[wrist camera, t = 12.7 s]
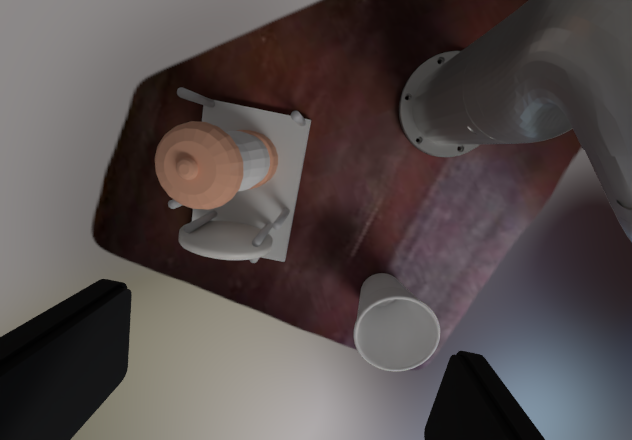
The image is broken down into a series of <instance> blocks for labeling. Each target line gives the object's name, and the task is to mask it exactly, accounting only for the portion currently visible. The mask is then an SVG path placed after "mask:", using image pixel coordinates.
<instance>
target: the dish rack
mask: <svg viewBox="0 0 632 440" xmlns="http://www.w3.org/2000/svg"><path fill="white" fill-rule="evenodd" d="M177 95H178V96H179V97H181V98H184V99H187V100H190V101H193V102H196V103H199V104H202V105H203V115H202V122H207V123H209V124H212V125H215V126H218V127H219V128H221V129H222V130H223V131H224V132H228V131H237V130H251V131H255V132H258V133H261V134H263V135H265V136H266V137H267V138H268V139H270V140H271V142H272V143H273V145H274V146H275V147H276V151H277V154H278V166H277V169H276V172H275V174H274V175H273V177H272V178H271V179H270V180H269V181H267V182H266V183H264V184H263V185H261V186H259V187H257V188H253V189H247V190H243V191H237V193H236V194H235V196H234V197H233V198H232V199H231V200H230V201H228V202H227V203H225V204H224V205H223V206H220V207H217V208H213V209H210V210H207V209H193V214H192V222H190V223H189V224H186V225H184V226H182V227H181V228H180V230H179V243H180V244H181V246H182V247H183V248H184V249H187V250H189V251H191V252H193V253H196V254H198V255H202V256H205V257H210V258H215V259H223V260H248V259H249V260H250V261H251V262H252V263H256V262H257V261H258V259H259V258H260V257H262V258H267V259H272V260H277V261H282V262H285V259H286V254H287V249H288V243H289V238H290V232H291V227H292V222H293V216H294V211H295V205H296V200H297V195H298V189H299V184H300V178H301V173H302V168H303V162H304V157H305V151H306V146H307V141H308V135H309V130H310V124H311V120H309V119H304V118H303V116H302V115H301V114H300V113H299V112H298V111H293V112H292V113H291V116H290V115H285V114H280V113H275V112H270V111H265V110H260V109H255V108H251V107H246V106H241V105H236V104H231V103H226V102H221V101H216V100H212V99H209V98H207V97H205V96H202V95H200V94H197V93H195V92H192V91H190V90H187V89H185V88H182V87H180V88H178V90H177ZM168 206H169V207H170V208H171V209H175V208H177V207H180V206H182V205H181V204H179V203H178V202H177V201H175V200H174V199H173V200H170V201H169V202H168Z"/></svg>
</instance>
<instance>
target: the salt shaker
mask: <svg viewBox="0 0 632 440" xmlns="http://www.w3.org/2000/svg"><path fill="white" fill-rule="evenodd" d="M277 166H278V154H277V151H276V147H275V146H274V145H273V143H272V142H271V140H270V139H268V138H267V137H266V136H265V135H263V134H261V133H258V132H255V131H251V130H237V131H228V132H224V131H223V130H222V129H221V128H219V127H218V126H215V125H212V124H209V123H207V122H196V121H190V122H187V123H184V124H181V125H178V126H176V127H174V128H173V129H172V130H170V131H169V132H168V133H166V134H165V135H164V137H163V138H162V140H161V141H160V143H159V145H158V147H157V151H156V155H155V168H156V174H157V177H158V179H159V182H160V184H161V186H162V187H163V189H164V190H165V191H166V192H167V194H168V195H169V196H170V197H171V198H173V199H174V200H175V201H177V202H178V203H179V204H181V205H184V206H187V207H190V208H192V209H207V210H210V209H213V208H217V207H220V206H223V205H224V204H225V203H227V202H228V201H230V200H231V199H232V198H233V197H234V196H235V194H236V193H237V191H243V190H247V189H253V188H257V187H259V186H261V185H263V184H264V183H266V182H267V181H269V180H270V179H271V178H272V177H273V175H274V174H275V172H276V169H277Z"/></svg>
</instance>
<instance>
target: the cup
mask: <svg viewBox="0 0 632 440" xmlns="http://www.w3.org/2000/svg"><path fill="white" fill-rule="evenodd" d="M439 339H440V326H439V322H438V319H437V317H436V315H435V314H434V312H433V311H432V310H431V309H430V308H429V307H428V306H427V305H426V304H425V303H423V302H422V301H420V300H418V299H417V298H416V297H415V296H414V295H413V294H412V293H411V292H410V291H409V290H408V289H407V288H406V287H405V286H404V285H403V284H402V283H401V282H399V281H398V280H397V279H396V278H395V277H394V276H392V275H390V274H386V273H378V274H374V275H372V276H370V277H368V278H367V279H366V280H365V281H364V283H363V285H362V287H361V291H360V300H359V308H358V315H357V321H356V323H355V327H354V342H355V346H356V348H357V350H358V352H359V353H360V355H361V356H362V357H363V358H364V359H365V360H366V361H367V362H368V363H370V364H371V365H373V366H375V367H377V368H380V369H383V370H388V371H404V370H409V369H412V368H415V367H417V366H419V365H420V364H422V363H423V362H425V361H426V360H427V359H428V358H429V357H430V356H431V355H432V354H433V353H434V351H435V349H436V348H437V345H438V342H439Z"/></svg>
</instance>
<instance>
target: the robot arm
mask: <svg viewBox="0 0 632 440" xmlns="http://www.w3.org/2000/svg"><path fill="white" fill-rule="evenodd" d="M438 60H439V61H440V64H438V62H437V61H438ZM405 96H407V97H408V100H406V99H405ZM399 120H400V123H401V127H402V130H403V132H404V134H405V136H406V137H407V139H408V140H409V141H410V143H411V144H412V145H414V146H415V147H416V148H417V149H418V150H420V151H422V152H424V153H426V154H429V155H432V156H437V157H453V156H459V155H462V154H464V153H467V152H469V151H471V150H473V149H474V148H476V147H478V146H479V145H480V144H517V143H532V142H539V141H544V140H548V139H551V138H554V137H556V136H559V135H561V134H563V133H565V132H567V131H569V130H571V129H572V128H573V130H574V132H575V134H576V136H577V138H578V140H579V142H580V144H581V146H582V148H583V149H584V150H585V151H586V154H587V156H588V158H589V160H590V162H591V164H592V166H593V168H594V171H595V173H596V175H597V177H598V179H599V181H600V183H601V186H602V188H603V190H604V192H605V194H606V196H607V198H608V201H609V202H610V205H611V207H612V208H613V210H614V212H615V214H616V216H617V219H618V220H619V223H620V224H621V226H622V228H623V230H624V231H625V233H626V235H627V236H628V238H629V239H630V240H631V242H632V0H529V1H528V2H526V3H525V4H524V5H523V6H521V7H520V8H519V9H517V10H516V11H515V12H514V13H512V14H511V15H510V16H509V17H507V18H506V19H504V20H503V21H502V22H500V23H499V24H498V25H496V26H495V27H494V28H492V29H491V30H490V31H488V32H487V33H486V34H484V35H483V36H481V37H480V38H479V39H477V40H476V41H475V42H473V43H472V44H470V45H469V46H468V47H466V48H465V49H464V50H462V51H449V52H444V53H441V54H438V55H436V56H434V57H432V58H430V59H428V60H427V61H425V62H424V63H423V64H421V65H420V66H419V67H418V68H417V69H416V70H415V71H414V72H413V73H412V75H411V76H410V77H409V79H408V80H407V82H406V84H405V86H404V88H403V90H402V94H401V97H400V102H399ZM417 138H418V139H419V142H416V139H417ZM458 147H459V148H460V149H459V150H457V148H458ZM130 313H131V291H130V290H129V289H127V286H126V284H125V283H122V282H117V281H112V280H107V279H101V280H99V281H97V282H96V283H93V284H92V285H90V286H89V287H87V288H85V289H83V290H81V291H80V292H78V293H76V294H74V295H73V296H71V297H69V298H68V299H66V300H64V301H62V302H61V303H59V304H57V305H55V306H54V307H52V308H50V309H48V310H47V311H45V312H43V313H42V314H40V315H38V316H36V317H35V318H33V319H31V320H29V321H28V322H26V323H24V324H23V325H21V326H19V327H17V328H16V329H14V330H12V331H10V332H9V333H7V334H5V335H3V336H2V337H0V440H70V439H71V438H72V437H73V436H74V435H75V434H76V433H77V431H78V430H79V429H80V428H81V427H82V426H83V425H84V424H85V422H86V421H87V420H88V419H89V418H90V417H91V416H92V414H93V413H94V412H95V411H96V410H97V409H98V408H99V407H100V405H101V404H102V403H103V402H104V401H105V400H106V399H107V397H108V396H109V395H110V394H111V393H112V392H113V391H114V390H115V388H116V387H117V386H118V385H119V384H120V383H121V382H122V380H123V378H124V377H125V375H126V372H127V368H128V351H129V332H130ZM424 435H425V436H424V437H425V440H545V439H544V437H543V436H542V435H541V433H540V432H539V431H538V429H537V428H536V427H535V425H534V424H533V423H532V421H531V420H530V419H529V417H528V416H527V414H526V413H525V412H524V411H523V409H522V408H521V407H520V405H519V404H518V402H517V401H516V400H515V398H514V397H513V396H512V394H511V393H510V391H509V390H508V389H507V387H506V386H505V385H504V384H503V382H502V381H501V379H500V378H499V377H498V375H497V374H496V373H495V371H494V370H493V369H492V367H491V366H490V364H488V362H487V361H486V359H485V358H484V357H483V356H482V355H480V354H475V353H470V352H465V351H459V352H458V353H457V354H456V355H452V356H451V357H450V360H449V362H448V365H447V368H446V371H445V373H444V376H443V379H442V382H441V385H440V387H439V390H438V393H437V396H436V398H435V401H434V404H433V407H432V410H431V412H430V415H429V418H428V421H427V424H426V426H425V432H424Z"/></svg>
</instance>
